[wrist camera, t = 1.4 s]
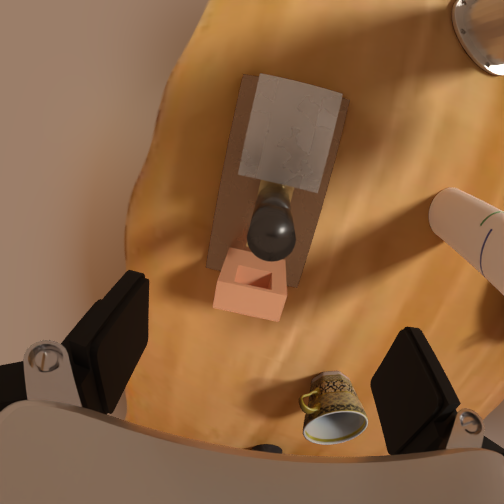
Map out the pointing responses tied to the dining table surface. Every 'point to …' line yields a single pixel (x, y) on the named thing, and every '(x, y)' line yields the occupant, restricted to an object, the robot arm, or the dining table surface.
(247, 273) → the socket
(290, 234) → the sliding bolt with handle
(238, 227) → the brown wooden base board
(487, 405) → the dining table surface
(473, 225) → the cylindrical container
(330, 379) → the ceramic cup
